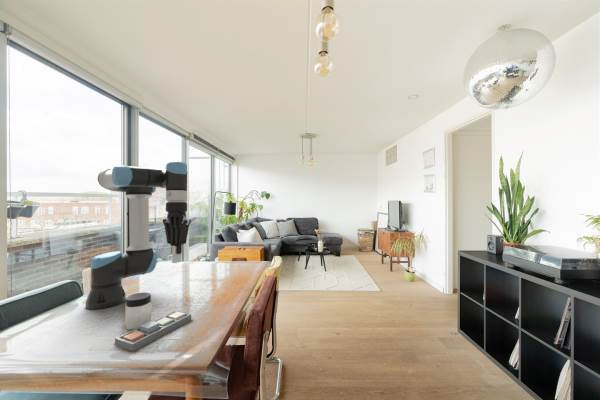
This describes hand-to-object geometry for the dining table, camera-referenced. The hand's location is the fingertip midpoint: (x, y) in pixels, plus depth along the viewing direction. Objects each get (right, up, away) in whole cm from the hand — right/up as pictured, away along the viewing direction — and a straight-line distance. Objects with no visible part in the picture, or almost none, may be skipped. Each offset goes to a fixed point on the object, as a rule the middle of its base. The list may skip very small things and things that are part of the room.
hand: (176, 262), depth 99 cm
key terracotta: (-7, -22, -15) cm, 28 cm away
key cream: (0, -22, 0) cm, 22 cm away
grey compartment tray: (-3, -24, -8) cm, 26 cm away
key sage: (-2, -22, -5) cm, 23 cm away
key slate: (-4, -21, -10) cm, 24 cm away
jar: (-13, -25, -2) cm, 28 cm away
